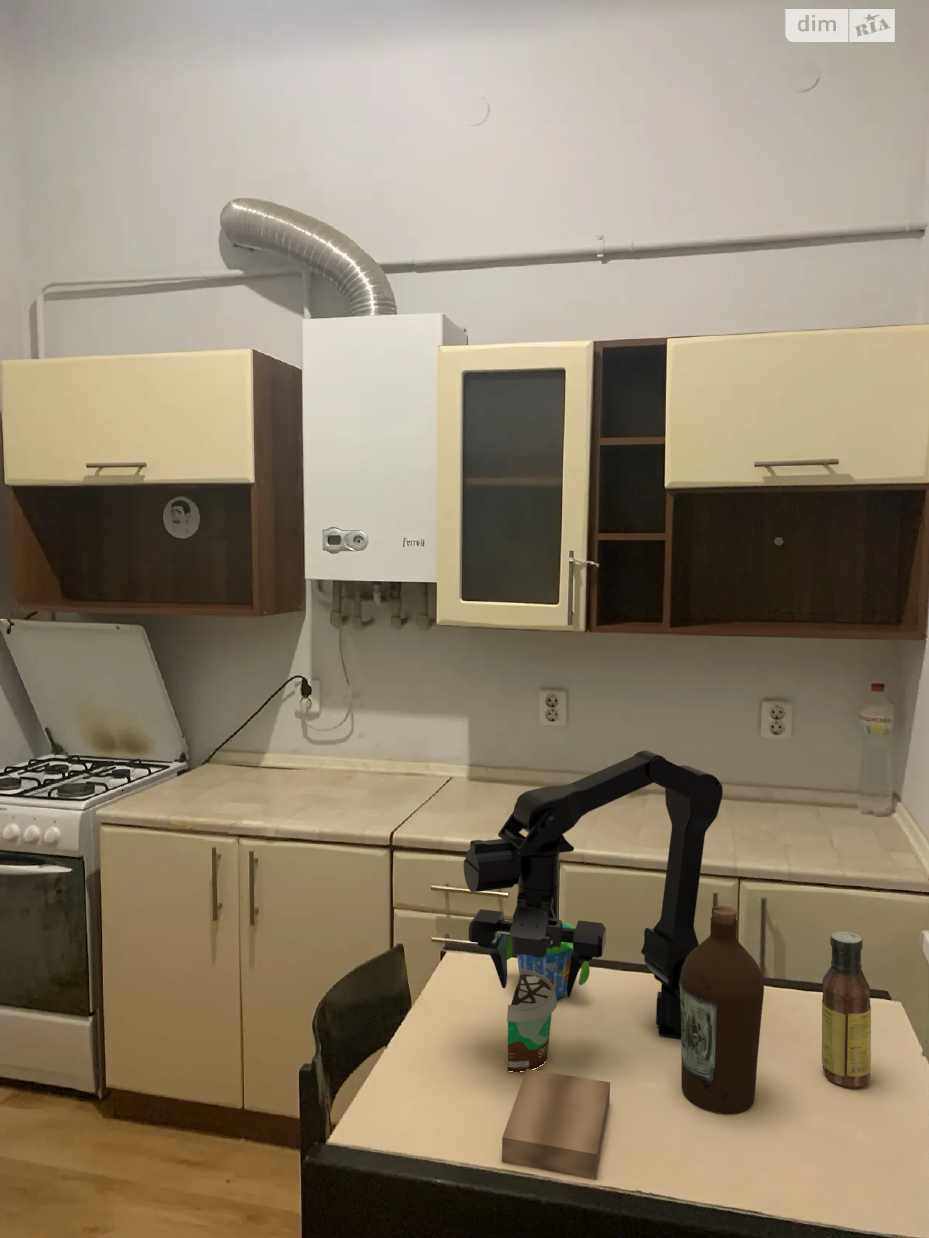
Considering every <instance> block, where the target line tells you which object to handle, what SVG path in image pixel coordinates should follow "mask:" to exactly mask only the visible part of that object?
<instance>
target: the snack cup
mask: <svg viewBox="0 0 929 1238" xmlns="http://www.w3.org/2000/svg"><path fill="white" fill-rule="evenodd" d="M562 925H563V927H564V928H573V929H575V928H576V927H574V925H572V924H569V923H567V922H564V921H562ZM506 949H507V961H509V960H510V959H512V957H513V955H514V954H513V953H512V952H511V944H510V936H509V935H506ZM572 951H573V943H567V942H561V947H553V949H549V948H547V953H546V955H545V956H544V957H540V958H537V957H534V956H531V955H523V954H521V955H516V956H517V965H518V973H519V972H520V969H524V970H529V971H533V972H536V973H538V974H541V975H543V976H545V977H546V978H547V979H549V980H550V981H551V983H552V984H553V987H554V989H555V993H556V998H557V999H559V998H563V997H565V995H567V982H568V976H569V969H570V958H571V954H572ZM589 962H590V961H585V962H584V963H583V965H582V966H581V968H580V974H579V977H578V985H579V986H583V985H584V984H585V983H586V982H587V981H588V980H589V976H590V964H589Z"/></svg>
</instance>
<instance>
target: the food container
mask: <svg viewBox="0 0 929 1238" xmlns="http://www.w3.org/2000/svg"><path fill="white" fill-rule="evenodd" d="M518 975H519V977H518V982H517V984H516V987H515V990H514V992H513V997H512V1000H511V1004H507V1016H506V1017H507V1019H506V1022H507V1072H508V1071H513V1072H519V1073H521V1072H520V1071H526V1069H531V1070H532V1069H534V1068H537V1067H539V1066H540V1065H542V1064H544V1062H545V1061H546V1060H548V1055H549V1046H550V1045H549V1044H550V1036H551V1035H550V1033H551V1024H552V1013H553V1012H554V1011H555V1010H556V1009H557V1007H558V998H556V993H555V989H554V987H553V984H552V983H551V981H550V980H549V979H547V978H546V977H545V976H543V975H541V974H538V973H536V972H533V971H529V970H524V969H520V972H519V971H518ZM546 1062H547V1061H546ZM546 1062H545V1063H546ZM544 1065H545V1064H544ZM539 1068H540V1067H539ZM513 1072H512V1073H513Z"/></svg>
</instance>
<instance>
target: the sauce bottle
mask: <svg viewBox="0 0 929 1238" xmlns="http://www.w3.org/2000/svg"><path fill="white" fill-rule="evenodd" d="M829 939H830V940H829V943H830V946H831V962H830V967H829V969H828V970H827V971H826V973H825V974H824V976H823V978H822V1000H821V1064H822V1071H823V1073H824V1076H825V1077H826V1079H828V1081H830V1082H832V1083H835V1084H837V1085H839V1086H843V1087H845V1088H851V1089H852V1088H863V1087H864V1086H867V1085H868V1083H869V1082H870V1079H871V1075H870V1074H871V1068H872V1058H871V1057H872V1040H871V1039H872V1007H871V987H870V985H869V983H868V981H867V979H866V977H865V974H864V972H863V970H862V968H863V967H862V962H861V961H862V950H863V947H864V946H863V938H862V936H860V935H858V934H856V933H854V932H850V931H846V930H843V931H842V930H841V931H834V932H832V933H831V934H830V938H829Z"/></svg>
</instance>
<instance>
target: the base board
mask: <svg viewBox="0 0 929 1238" xmlns="http://www.w3.org/2000/svg"><path fill="white" fill-rule="evenodd" d="M610 1094H611V1082H610V1081H605V1080H600V1079H599V1080H598V1079H593V1078H587V1077H581V1076H574V1075H568V1074H561V1073H556V1072H550V1071H549V1072H548V1071H542V1070H538V1069H536V1070H531V1069H526V1072H524V1074H523V1078H522V1081H521V1084H520V1085H519V1090H518V1092H517V1094H516V1098H515V1100H514V1103H513V1106H512V1109H511V1112H510V1115H509V1117H508V1121H507V1123H506V1126H505V1129H504V1132H503V1134H502V1137H501V1138H502V1139H501V1146H502V1147H501V1162H502V1163H505V1164H511V1165H517V1166H522V1167H528V1168H534V1169H538V1170H543V1171H544V1170H545V1171H549V1172H555V1173H560V1174H564V1175H571V1176H575V1177H581V1178H587V1179H592V1180H597V1178H598V1173H599V1172H598V1171H599V1165H600V1160H601V1153H602V1149H603V1143H604V1138H605V1131H606V1128H607V1122H608V1115H609V1109H610V1099H611V1097H610V1096H611V1095H610Z"/></svg>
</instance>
